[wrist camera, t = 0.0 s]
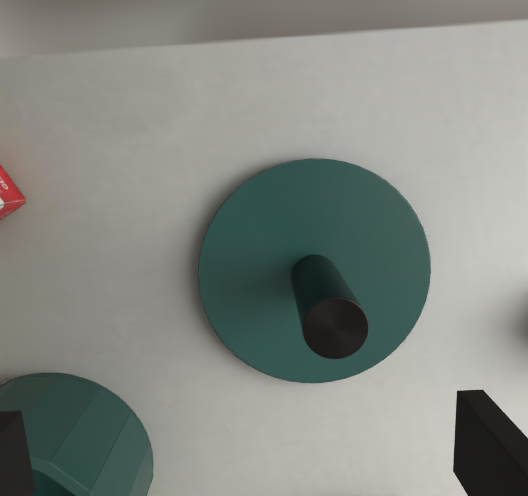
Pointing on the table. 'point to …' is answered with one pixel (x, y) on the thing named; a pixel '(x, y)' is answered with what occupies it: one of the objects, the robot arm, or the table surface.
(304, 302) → the lid
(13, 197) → the ink box
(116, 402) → the tin
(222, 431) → the table surface
